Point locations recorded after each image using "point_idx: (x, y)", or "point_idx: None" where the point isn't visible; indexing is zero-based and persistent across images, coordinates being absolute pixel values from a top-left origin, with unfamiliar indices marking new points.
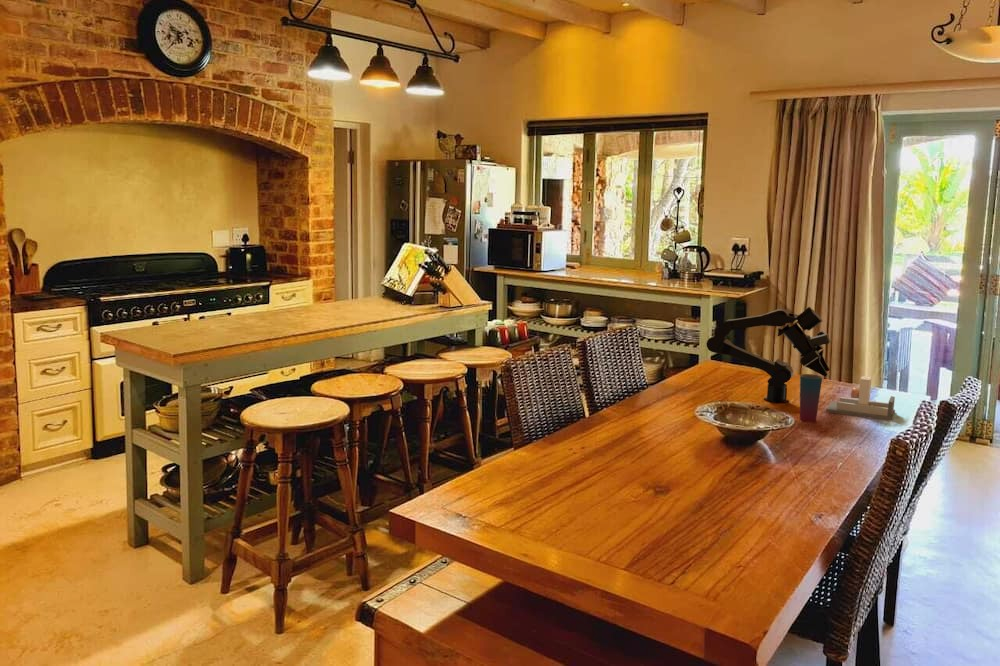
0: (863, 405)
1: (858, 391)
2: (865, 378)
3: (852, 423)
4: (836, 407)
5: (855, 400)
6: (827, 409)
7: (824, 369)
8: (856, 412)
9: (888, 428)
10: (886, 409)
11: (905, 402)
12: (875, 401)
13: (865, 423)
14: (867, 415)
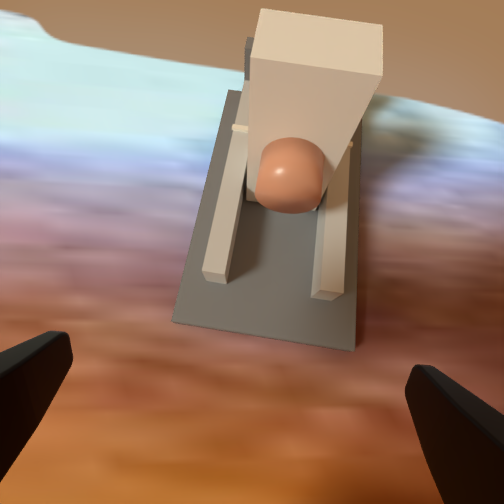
0: (344, 175)
1: (321, 157)
2: (340, 44)
3: (485, 243)
4: (295, 299)
5: (238, 203)
6: (353, 345)
7: (496, 430)
8: (347, 217)
9: (469, 135)
10: None
11: (54, 56)
12: (236, 125)
13: (451, 198)
14: (358, 182)
